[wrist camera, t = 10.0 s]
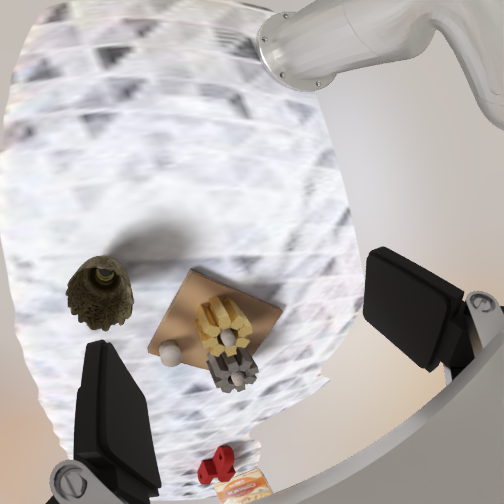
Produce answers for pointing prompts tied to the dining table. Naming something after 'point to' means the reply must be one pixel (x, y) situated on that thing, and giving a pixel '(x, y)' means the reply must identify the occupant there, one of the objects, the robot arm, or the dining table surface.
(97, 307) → the cup
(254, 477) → the coffeecake box
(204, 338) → the brass gear
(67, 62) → the dining table surface
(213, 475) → the mechanical linkage
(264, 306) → the gear board
